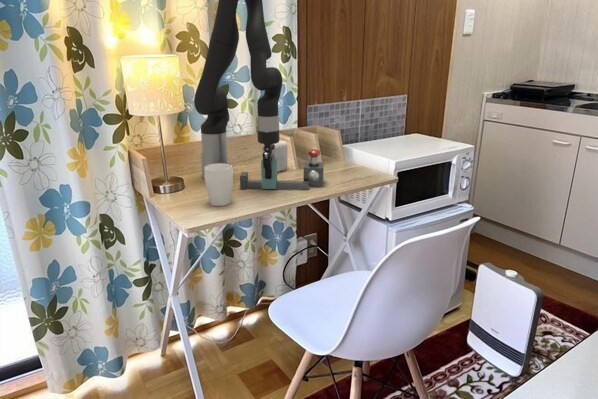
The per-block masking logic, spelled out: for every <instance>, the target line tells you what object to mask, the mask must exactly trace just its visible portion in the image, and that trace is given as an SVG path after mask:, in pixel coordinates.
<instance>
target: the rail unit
mask: <svg viewBox="0 0 598 399" xmlns="http://www.w3.org/2000/svg"><path fill="white" fill-rule="evenodd" d="M324 164H325V162H324V161H318V166H310V161H304V164H303V180H283V179H282V180H281V179H280V180H278V179H277V181H276V189H275V190H293V191H294V190H296V191H297V189H298V191H300V190H299V189H309V190H310V187H309V186H316V187H315V188H323V187H324V176H325V175H324V171H325V170H324V168H325V166H324ZM239 188H240V191H241V190H244V191H245V190H246V191H247V189H251V190H252V189H253V190H255V189H256V190H258V189H260V190H263V189H262V179H249V172H248V171H242V172H241V173H240V174H239Z"/></svg>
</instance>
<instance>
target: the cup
mask: <svg viewBox="0 0 598 399" xmlns="http://www.w3.org/2000/svg"><path fill="white" fill-rule="evenodd" d="M203 179H204V182H205V187H206V191H207V195H208V199H209V204H210V205H212V206H215V207H223V206H228V205H229V204H231V202H232V192H233V182H234V181H233V180H234V172H233V166H232V165H231V164H229V163H228V164H222V163H219V164H210V165H207V166H205V167H204V178H203Z"/></svg>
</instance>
